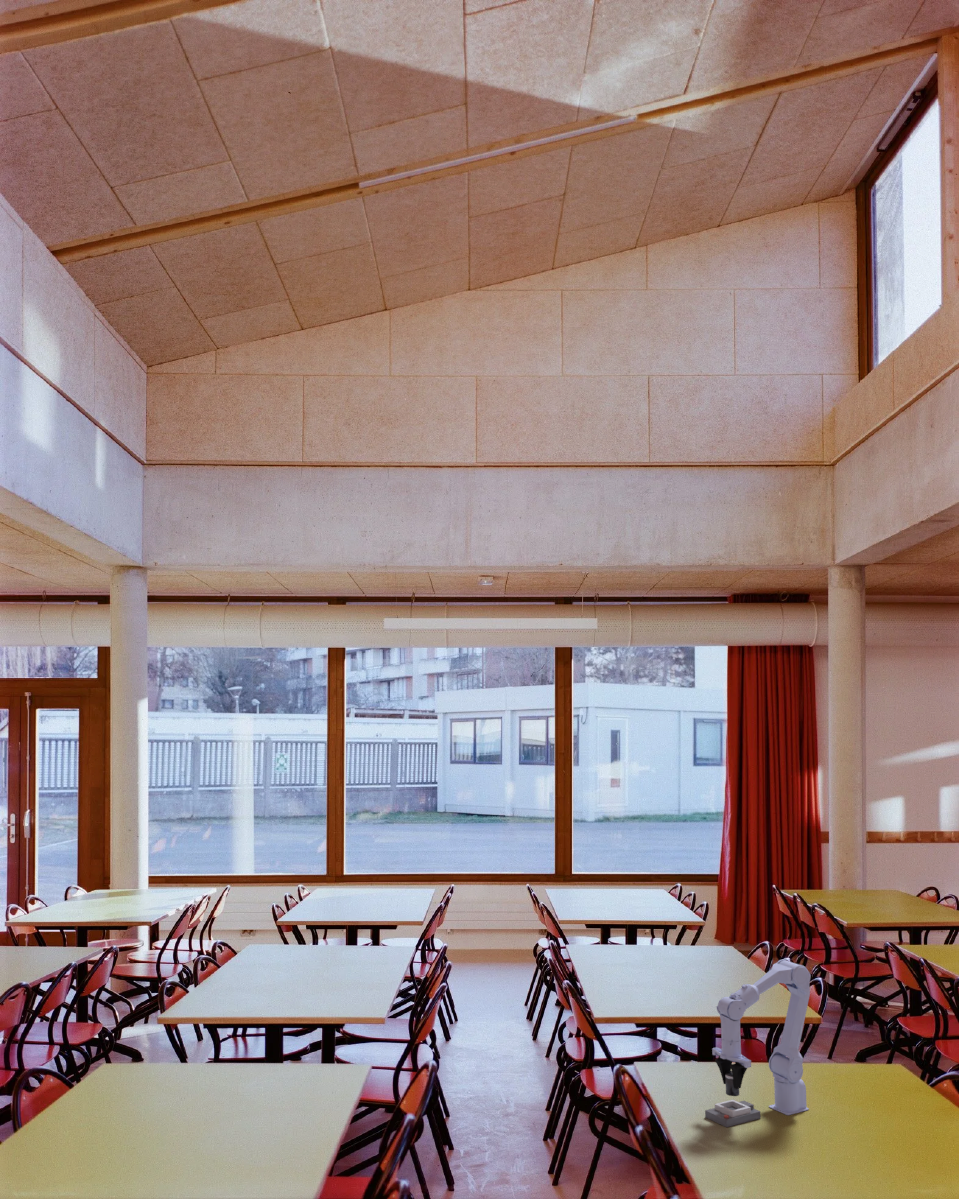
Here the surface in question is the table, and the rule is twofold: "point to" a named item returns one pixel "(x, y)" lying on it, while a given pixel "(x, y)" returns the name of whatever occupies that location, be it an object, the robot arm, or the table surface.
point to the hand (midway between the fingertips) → (732, 1085)
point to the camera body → (732, 1113)
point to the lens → (730, 1084)
